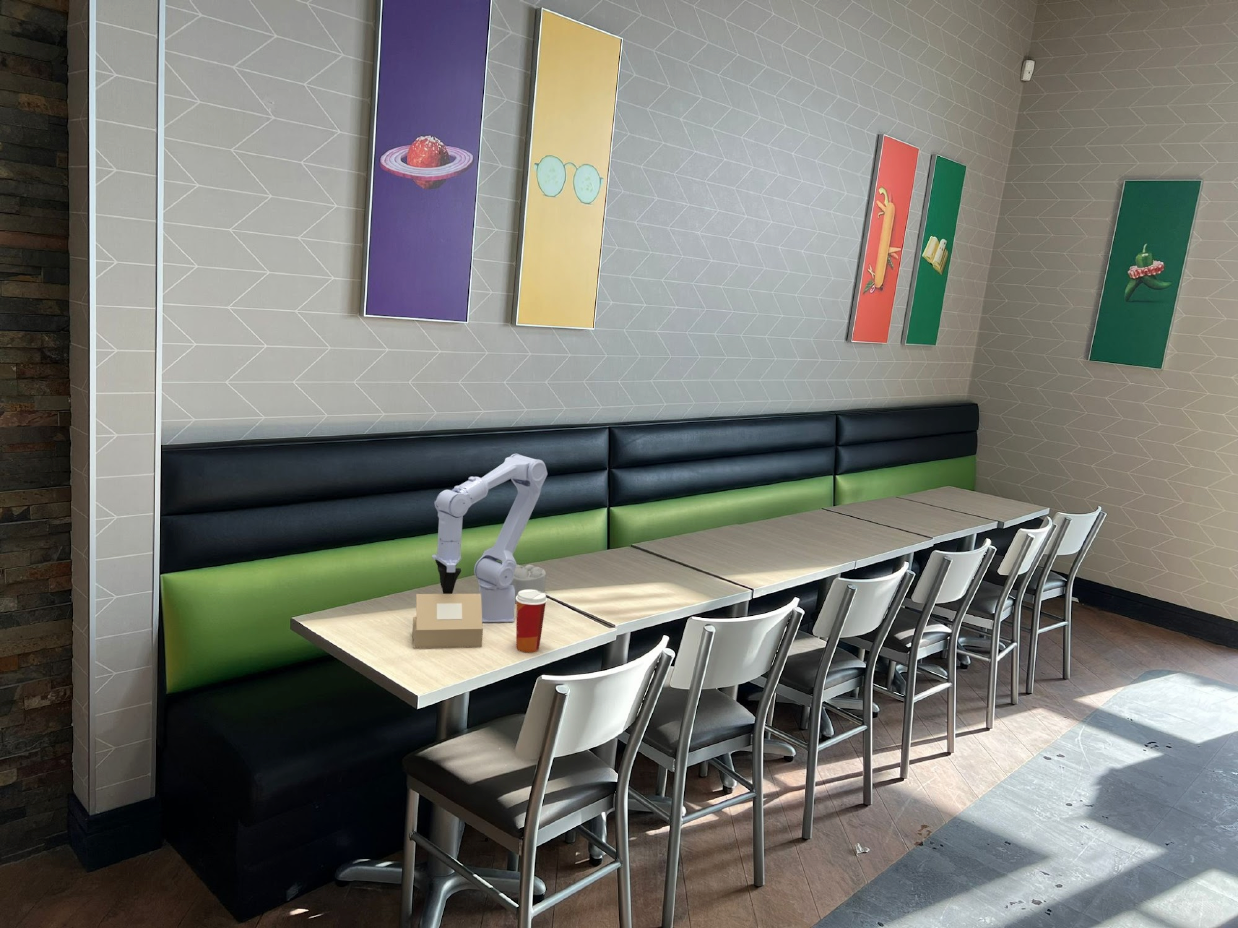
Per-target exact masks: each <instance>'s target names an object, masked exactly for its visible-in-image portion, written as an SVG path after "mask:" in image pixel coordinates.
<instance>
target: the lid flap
mask: <svg viewBox="0 0 1238 928" xmlns="http://www.w3.org/2000/svg"><path fill="white" fill-rule="evenodd" d="M415 595H416V596H415V597H416V600H415V605H416V606H415V607H416V608H415V609H416V610H415V612H416V613H415V617H416V631H419V630H477V629H482V628H483V622H482V605H481V594H479V593H452V594H443V593H416V594H415Z"/></svg>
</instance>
